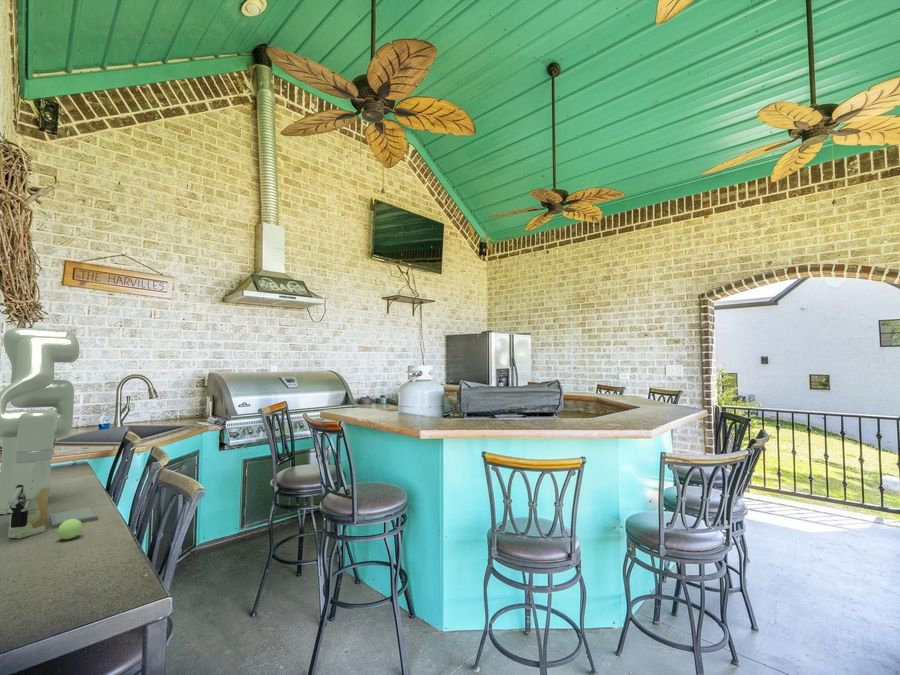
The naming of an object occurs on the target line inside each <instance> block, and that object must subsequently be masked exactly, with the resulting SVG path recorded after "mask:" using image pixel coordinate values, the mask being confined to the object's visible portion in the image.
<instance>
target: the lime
mask: <svg viewBox="0 0 900 675" xmlns="http://www.w3.org/2000/svg"><path fill="white" fill-rule="evenodd" d="M83 526H84V525H83V523H81V521H79V520H77V519H69V520H67V521H65V522H63V523H62V524H61V525H60V526H59V527H57V532H56V533H57V536H58V537H59V539H62V540H67V541H68V540H71V539H74V538H76V537H77V536H78V535H80V534H81V532H82V530H83Z"/></svg>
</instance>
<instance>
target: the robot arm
mask: <svg viewBox="0 0 900 675" xmlns="http://www.w3.org/2000/svg"><path fill="white" fill-rule="evenodd" d="M3 346H4V350H5V353H6V355H7V357H8V359H9V361H10V364H11V376H10V377H11V378H10V384H8V385H7V386H5V387H4V388H3V389H2V390H1V391H0V439H1V463H0V514H3V515H8V514H7V513H12V516H11V528H16V527H25V526H26V525H27V518H28V511H26V509H27V506H28V504H29V501H30V500H32V499H34V498H36V497H38V496H39V493H40V491H41V489H42V488H44V487H49V491H50V489H51V488H52V484H51V482H52V465H51V464H52V462H51V461H52V460H53V451H54V441H55V439H61V438H65V437H68V436H69V435H70V434H71V432H72V428H73V422H74V421H73V420H74V408H75V406H74V404H75V388H74V384H73V383H72V382H71V381H69V380H67V379H55V363H62V364H63V363H65V364H66V363H67V364H68V363H75V362H76V361H77V360H78V359H79V355H80V343H79V341H78V338H77V336H76V335H75V333H74V332H73V331H70V330H66V329H65V330H64V329H53V328H52V329H50V328H39V327H36V328H34V327H14V328H9V329H8V330H6V331H5V333H4V334H3ZM9 402H10V404H11V405H12V407H15V408H20V409H22V410H9V411H7V408H6V407H7V405H8V404H9ZM34 408H36V409H34ZM37 408H38V409H37ZM39 408H54V409H56V410H53V409H39ZM23 409H24V410H23ZM25 409H26V410H25ZM29 409H30V410H29ZM23 494H24V496H26V498H25V499H19V498H21V497H23ZM22 502H24V504H23V506H22V505H21V503H22Z"/></svg>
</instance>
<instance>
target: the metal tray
mask: <svg viewBox="0 0 900 675" xmlns="http://www.w3.org/2000/svg"><path fill="white" fill-rule="evenodd" d="M49 519H50V524H51V528H52V529H56V528H57V529H58V528H59V526H60V525H61V524H62V523H63V522H65V521H67V520H69V519H77V520H79V521H81V523H82V522H83V523H88V522H93V521H92V520H94V521H97V520H99V516H98V514H97V512H96V511H95V509H94V507H93V506H90V507H89V506H88V507H83V508H78V509H72V510H66V511H61V512H54V513H50V514H49ZM87 521H88V522H87ZM83 523H82V524H83Z"/></svg>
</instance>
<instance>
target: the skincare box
mask: <svg viewBox="0 0 900 675" xmlns="http://www.w3.org/2000/svg"><path fill="white" fill-rule="evenodd" d="M49 496H50V490H49V487H44V488H42V489H41V491H40V493H39V496H38V497H36V498H34V499H32V500H30V501H29V504H28V506H27V509H26V511H28V518H27V525H26V526H25V527H16V528H11V516H12V513H11V514H9V515H10V516H9V525H8V531H7V532H8V534H7V538H10V539H22V538H23V539H24V538H26V537H29V536H33V535H36V534H39V533H43V532H45V531H46V526H47V525H46V524H47V513H48V505H49ZM25 498H26V496H24V494H23V497H21V498H19V499H25ZM23 504H24V502H22V503H21V505H22V506H23Z"/></svg>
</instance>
